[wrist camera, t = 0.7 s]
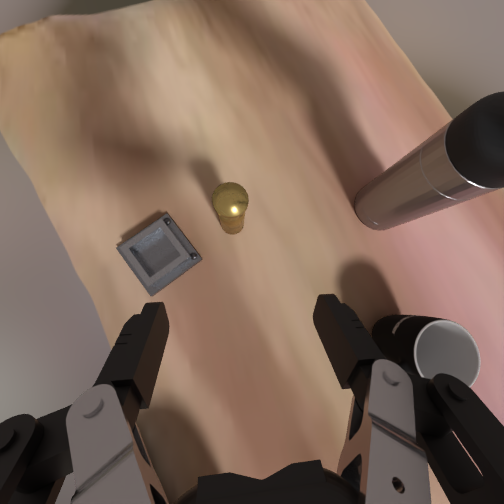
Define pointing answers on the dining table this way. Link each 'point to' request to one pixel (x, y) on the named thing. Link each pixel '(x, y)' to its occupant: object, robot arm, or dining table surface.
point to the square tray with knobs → (159, 254)
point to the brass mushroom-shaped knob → (230, 206)
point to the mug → (428, 346)
